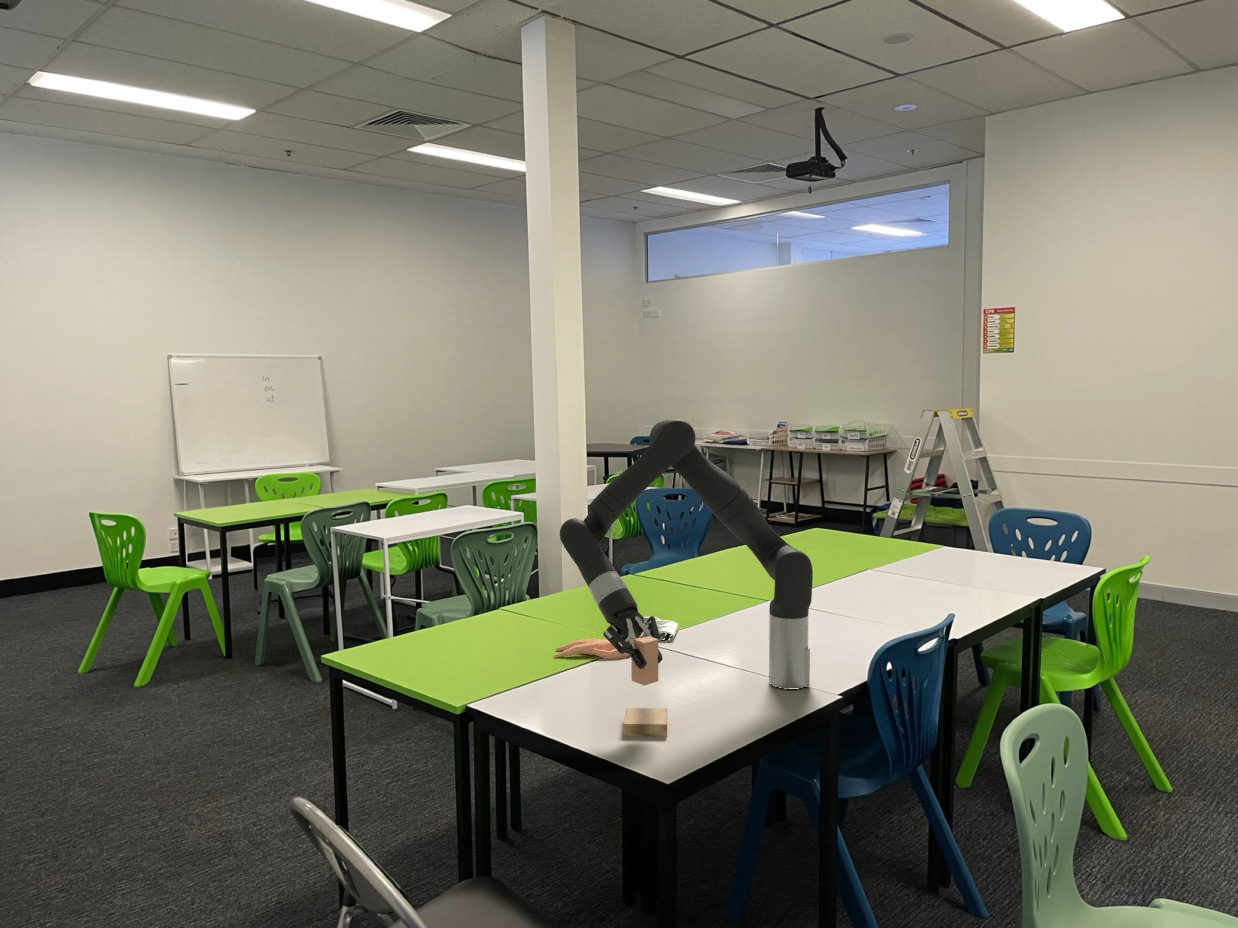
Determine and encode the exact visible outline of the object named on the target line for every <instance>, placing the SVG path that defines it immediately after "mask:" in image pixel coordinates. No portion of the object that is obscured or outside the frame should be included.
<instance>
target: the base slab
mask: <svg viewBox="0 0 1238 928" xmlns="http://www.w3.org/2000/svg"><path fill="white" fill-rule="evenodd" d="M623 737H660V738H661V737H665V738H667V737H668V708H663V707H660V708H659V707H653V708H652V707H650V708H649V707H625V710H624V717H623Z"/></svg>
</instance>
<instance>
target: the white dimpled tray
mask: <svg viewBox="0 0 1238 928" xmlns="http://www.w3.org/2000/svg"><path fill="white" fill-rule="evenodd" d="M643 617H644V618H650V617H651V616H643ZM653 617H654V618H655V620H656V624H657V627H658V631H659V634H660V640H663V639H664V638H665V633H668V634H669V635H672V636H671V637H670V636H669V637H670V640H669V641H668V642H670V641H672V640H674V639H675V637H676V636H675V635H676V634H677V632H678V630H679V623H677V622H676V621H673V620H666V619H665V620H664V619H661V618H659V617H657V616H653ZM642 635H643V633H642V634H641V635H640V636H642Z"/></svg>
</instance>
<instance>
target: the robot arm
mask: <svg viewBox="0 0 1238 928" xmlns="http://www.w3.org/2000/svg"><path fill="white" fill-rule="evenodd" d="M696 438H697V437H696V432H695V430H694V428H693V426H692V425H691V424H690V423H689V422H687V421H685V420H682V419H677V418H673V419H672V418H670V419H664V420H661V421H659V422H657V423H656V424H655V425H653V427H652V429H651V430H650V433H649V443H650V445H649V446H648V448H647V449H646V450H645V451H644V452H643V454H641V456H640V457H639V458H638V459H636V460H635V461H634V462H633V463H632V464H631V465H630V466H629V467H627V469H625V470H623V472H621V473H619V475H617V476H616V477H615V478H614V479H612V481H610V482H609V483H608V484H607V485H606V486H605V487H604V488H602V490H601V491H600V492H599V493H598V494H597V495H596V496H595V498H594V499H592V501H591V502H590V503H589V506H588V514H587V515H586V516H585V518H584V519H583V520H582V519H579V518H575V517H574V518H569V519H567V520H566V521H564V522H563V523H562V525H561V526H560V529H559V538H560V542H561V544H562V546H563V547H564V549H565V550H566V552H567V553H568V555H569V556H570V558H571V559H572V561H573V562H574V563H575V565H576V566H577V568H578V570H579V572H580V574H581V577H582V578H583V580H584V581H585V583H586V586H587V587H588V589H589V591H590V593H591V596H592V598H593V600H594V602H595V603H596V605H597V607H598V609H599V611H600V613H601V614H602V616H603V617H604V620H605V621H606V623H607V624H609V626H608V627H606V630H605V631H603V634H602V635H603V637H604V638H606V639H607V640H608V641H609V642H610V643H611V644H612V645H613V646H614V647H615V648H616V649H617V650H618V651H619V653H621V654H624V653H627V654H629V656H630V658H631V657H632V659H633V661H634V663H635V665H636V666H637V667H639V669H643V668H644V667H645V666H646V665H647V662H646V660H645V659H644V657H643V655H642V654H641V652H640V650H639V649H637V644H636V643H635V641H634V640H635V638H637V637H641V636H640V635H641V634H642V633H643V635H642V636H649V637H653V638H656V639H658V640H660V634H659V631H658V627H657V624H656V620H655V618H654V617H655V616H654V615H651V616H649V617H650V618H644V617H645V616H643V615H642V614H641V613H640V612H639V609H638V604H637V602H636V600H635V599H634V597H633V595H632V594H631V592H630V590H629V588H628V587H627V584H626V583H625V582H624V580H623V578H622V577H621V575H620V574H618V572H617V570H616V568H615V567H614V565H613V564H612V562H611V561H610V559H609V557H608V556H607V555H606V554H605V553H604V551H603V550H602V549H601V547H600V544H601V543H602V541H603V540H604V538H605V536H606V535H607V533H608V532H609V530H610V529H611V527H612V525H613V524H615V522H616V521H617V520H618V519H619V518H620V517H621V516H622V515H623V514H624V513H625V512H626V511H627V510H628V509H629V507H631V506H632V504H633V503H634V502H636V500H637V499H638V498H639V497H640V496H641V495H642V494H643V493H644V492H645V491H646V489H648V488H649V487H650V486H651V485H652V483H653V482H655V481H656V480H657V479H658V478H660V476H662V475H663V474H664V473H665V472H667V470H669V469H670V468H672V469H673V470H674V471H675V472H676V473H678V474H679V475H680V476H681V477H682V479H683V480H685V482H686V483H687V484H688V485H689V487H690V488H691V489H692V491H694V494H696V495H697V497H698V498H699V499H700V500H701V501H702V502H703V504H704V505H705V506H706V507H707V508H708V509H709V511H710V512H711V513H712V514H713V515H714V516H715V517H716V519H717V520H718V521H719V522H720V523H721V524H722V525H724V526H725V528H726V529H727V530H728V531H730V533H732V534H733V535H734V536H735V537H736V538H737V539H738V540H740V541H741V542H742V543H743V544H744V545H745V546H747V548H748V549H749V550H750V552H751V553H753V555H754V556H755V558H756V559H757V560H758V561H759V562H760V564H761V565H762V567H763V568H764V570H765V571H766V573H767V574H768V575H769V577H770V578H771V579H772V580H773V581H774V590H773V591H774V592H773V593H774V594H773V599H772V600H771V601H770V602H769V615H768V616H769V621H768V622H769V628H768V630H769V634H768V635H769V636H768V638H769V639H768V641H769V644H768V646H769V648H768V652H769V653H768V683H769V682H770V683H771V684H772V685H774V686H776V687H781V688H802V689H804V688H803V687H810V685H811V684H810V680H811V679H810V677H811V676H810V673H811V671H810V670H811V667H810V666H811V661H810V660H811V649H810V647H809V609H810V607H811V604H812V599H813V581H814V580H813V577H814V576H813V575H814V574H813V564H812V561H811V559H810V558H809V556H808V555H807V554H806V553H804V552H803V551H801V550H799V549H797V548H795V547H793V546H792V545H790V544H789V543H788V542H787V541H786V540H784V539H783V538H782V537H781V536H780V535H779V534H778V533H777V532H776V531H775V530H774V529H773V528H772V527H771V526H770V524H768V523H769V522H768V521H767V520H766V518H765V517H764V514H763V513H762V510H761V509H760V508H759V506H758V505H757V503H756V501H754V499H753V498H752V497H751V496H750V495H749V494H748V493H747V491H746V490H745V489H744V488H743V487H742V485H740V484H739V483H738V482H737V480H735V479H734V478H733V477H732V476H730V475H729V474H728V473H727V472H725V471H724V470H723V469H722V468H720V467H718V466H717V465H716V464H714V463H713V462H712V461H711V460H710V459H708V458H707V457H706V456H705V455H704V454H703V453H702V451H701V450H700V449H699V448H698V447H697V446H696ZM618 642H619V643H620V644H621V645H622V646H621V645H620V644H619V643H618ZM632 659H631V660H632ZM663 660H664V659H663V655H662V652H661V651H660V649H659V648H658V665H659V664H660V663H661V662H662V661H663ZM772 685H771V686H772ZM776 687H775V688H776ZM810 688H811V687H810Z"/></svg>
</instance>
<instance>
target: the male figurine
mask: <svg viewBox="0 0 1238 928" xmlns="http://www.w3.org/2000/svg"><path fill="white" fill-rule="evenodd" d="M618 643H619V642H618ZM619 644H620V643H619ZM620 645H621V644H620ZM621 646H622V645H621ZM562 650H563V651H562ZM555 651H556V652H557V653H555V654H554V658H555V659H556V658H558V657H559V658H563V657H570V656H574V655H580V654H581V655H583V654H586V655H589V656H592V655H593V656H598V657H600V658H603V659H607V660H617V659H618V660H619V659H625V658H628V657H629V656H630V655H629V654H627V653H624V654H621V653H619V651H618V650H617V649H616V648H615V647H614V646H613V645H612V644H611V643H610V642H609V641H608V640H607V639H599V638H597V637H596V638H595V637H594V638H586V639H575V640H572V641H571V642H568V643H566V644H564V645H560V646H557V647H556V648H555ZM560 651H561V652H560Z"/></svg>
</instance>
